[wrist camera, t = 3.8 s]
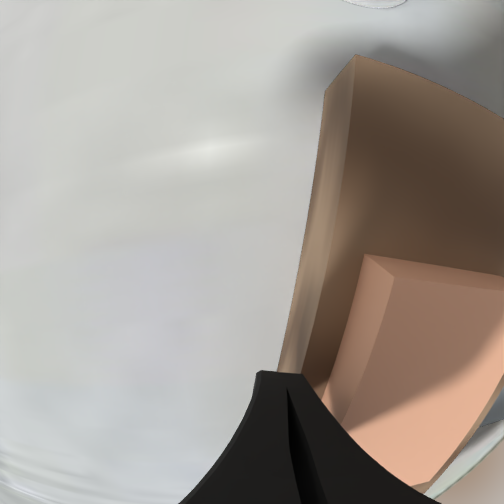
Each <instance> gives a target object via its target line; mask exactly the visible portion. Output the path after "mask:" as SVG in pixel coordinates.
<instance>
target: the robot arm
mask: <svg viewBox="0 0 504 504" xmlns="http://www.w3.org/2000/svg"><path fill="white" fill-rule="evenodd" d="M179 504H441V503H439V502H437V501H435V500H433V499H431V498H429V497H427V496H425V495H424V494H422V493H420V492H418V491H417V490H415V489H413V488H412V487H410V486H409V485H407V484H406V483H404V482H403V481H401V480H400V479H398V478H397V477H395V476H394V475H393V474H391V473H390V472H389V471H387V470H386V469H385V468H384V467H383V466H381V465H380V464H379V463H378V462H377V461H376V460H374V459H373V458H372V457H371V456H370V455H369V454H368V453H366V452H365V451H364V450H363V449H362V448H361V447H360V446H359V445H358V444H357V443H356V442H355V441H354V439H353V438H352V437H351V436H350V435H349V434H348V433H347V432H346V431H345V430H344V428H343V427H342V426H341V425H340V424H339V422H338V421H337V420H336V419H335V417H334V416H333V415H332V414H331V412H330V411H329V410H328V409H327V407H326V406H325V405H324V403H323V402H322V401H321V399H320V398H319V396H318V395H317V394H316V392H315V391H314V389H313V388H312V387H311V385H310V384H309V382H308V381H307V379H306V378H305V377H304V375H303V374H298V373H285V372H274V371H264V370H261V371H259V372H257V373H256V378H255V384H254V389H253V394H252V399H251V401H250V404H249V406H248V408H247V410H246V413H245V415H244V417H243V419H242V421H241V423H240V425H239V427H238V428H237V430H236V432H235V434H234V435H233V437H232V439H231V441H230V442H229V444H228V445H227V447H226V448H225V450H224V451H223V453H222V454H221V456H220V457H219V458H218V460H217V461H216V462H215V464H214V465H213V466H212V468H211V469H210V470H209V471H208V473H207V474H206V475H205V476H204V477H203V479H202V480H201V481H200V482H199V483H198V484H197V485H196V487H195V488H194V489H193V490H192V491H191V492H190V493H189V494H188V495H187V496H186V497H185V498H184V499H183V500H182V501H181V502H180V503H179Z"/></svg>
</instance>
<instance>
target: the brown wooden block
mask: <svg viewBox="0 0 504 504" xmlns="http://www.w3.org/2000/svg"><path fill="white" fill-rule="evenodd" d="M364 254H369V255H375V256H382V257H388V258H395V259H401V260H407V261H414V262H420V263H426V264H432V265H438V266H444V267H450V268H456V269H462V270H468V271H474V272H480V273H486V274H492V275H497V276H502V277H504V119H503V118H501V117H500V116H498V115H496V114H495V113H493V112H491V111H490V110H488V109H486V108H485V107H483V106H481V105H479V104H477V103H475V102H474V101H472V100H470V99H468V98H466V97H464V96H462V95H460V94H458V93H456V92H454V91H452V90H450V89H448V88H446V87H443V86H441V85H439V84H437V83H435V82H432V81H430V80H428V79H425V78H423V77H420V76H418V75H415V74H413V73H410V72H408V71H405V70H402V69H400V68H397V67H394V66H391V65H388V64H385V63H382V62H379V61H376V60H373V59H370V58H366V57H363V56H359V55H355V56H354V57H353V58H352V59H351V60H350V62H349V63H348V64H347V65H346V66H345V68H344V69H343V70H342V71H341V72H340V74H339V75H338V76H337V77H336V78H335V80H334V81H333V82H332V83H331V84H330V86H329V87H328V88H327V89H326V91H325V97H324V105H323V114H322V122H321V130H320V137H319V145H318V152H317V159H316V166H315V173H314V180H313V186H312V193H311V199H310V205H309V212H308V218H307V224H306V229H305V235H304V241H303V246H302V252H301V258H300V263H299V268H298V274H297V279H296V284H295V289H294V294H293V299H292V304H291V309H290V314H289V319H288V323H287V328H286V333H285V337H284V342H283V346H282V351H281V355H280V360H279V364H278V369H277V372H285V373H298V374H303V375H304V377H305V378H306V379H307V381H308V382H309V384H310V385H311V387H312V388H313V389H314V391H315V392H316V394H317V395H318V396H319V398H320V399H321V400H322V398H323V395H324V392H325V389H326V387H327V384H328V381H329V378H330V375H331V372H332V369H333V366H334V363H335V360H336V357H337V354H338V351H339V347H340V344H341V341H342V338H343V334H344V331H345V328H346V324H347V321H348V317H349V313H350V310H351V306H352V302H353V299H354V295H355V291H356V287H357V283H358V279H359V275H360V270H361V266H362V262H363V257H364ZM503 386H504V374H503V376H502V377H501V379H500V381H499V383H498V385H497V387H496V389H495V390H494V392H493V394H492V396H491V397H490V399H489V401H488V402H487V404H486V406H485V407H484V409H483V411H482V412H481V414H480V415H479V417H478V418H477V420H476V421H475V423H474V424H473V426H472V427H471V429H470V430H469V432H468V433H467V435H466V436H465V437H464V439H463V440H462V442H461V443H460V444H459V446H458V447H457V448H456V450H455V451H454V452H453V453H452V455H451V456H450V457H449V458H448V460H447V461H446V462H445V463H444V465H443V466H442V467H441V468H440V469H439V471H438V472H437V473H436V474H435V475H434V476H433V477H432V479H431V480H430V481H428V482H425V483H421V484H417V485H413V486H410V487H412V488H413V489H415V490H417V491H418V492H420V493H422V494H423V493H425V492H426V491H427V490H428V489H429V488H430V487H431V486H432V485H433V483H434V482H435V481H436V480H437V479H438V478H439V477H440V476H441V475H442V473H443V472H444V471H445V470H446V469H447V468H448V466H449V465H450V464H451V463H452V462H453V460H454V459H455V458H456V457H457V455H458V454H459V453H460V452H461V450H462V449H463V448H464V446H465V445H466V444H467V442H468V441H469V440H470V438H471V437H472V436H473V434H474V433H475V431H476V430H477V428H478V427H479V425H480V424H481V423H482V421H483V420H484V418H485V416H486V415H487V413H488V412H489V410H490V409H491V407H492V405H493V404H494V402H495V400H496V399H497V397H498V395H499V394H500V392H501V390H502V388H503Z"/></svg>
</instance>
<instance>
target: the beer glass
mask: <svg viewBox="0 0 504 504" xmlns="http://www.w3.org/2000/svg"><path fill="white" fill-rule="evenodd" d="M344 1H346V2H349V3H352V4H356V5H360V6H364V7H371V8H390V7H394V6H397V5H400V4H402V3H403V2H405V1H406V0H344Z"/></svg>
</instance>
